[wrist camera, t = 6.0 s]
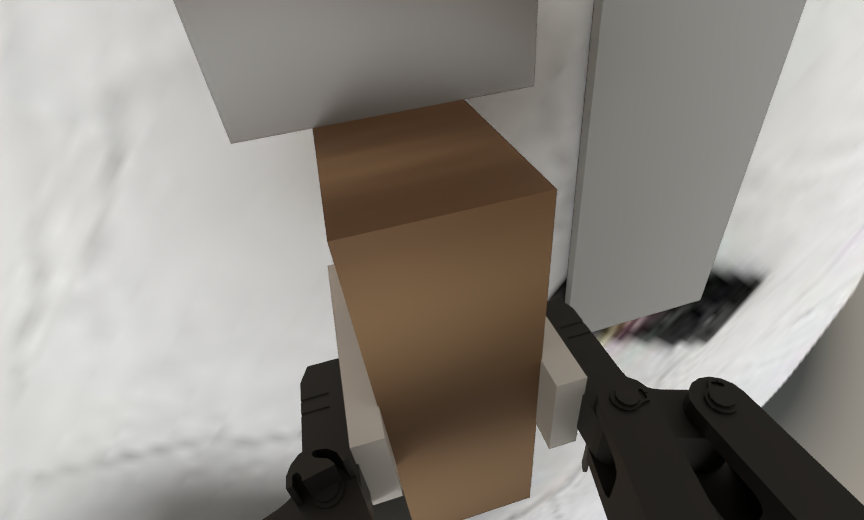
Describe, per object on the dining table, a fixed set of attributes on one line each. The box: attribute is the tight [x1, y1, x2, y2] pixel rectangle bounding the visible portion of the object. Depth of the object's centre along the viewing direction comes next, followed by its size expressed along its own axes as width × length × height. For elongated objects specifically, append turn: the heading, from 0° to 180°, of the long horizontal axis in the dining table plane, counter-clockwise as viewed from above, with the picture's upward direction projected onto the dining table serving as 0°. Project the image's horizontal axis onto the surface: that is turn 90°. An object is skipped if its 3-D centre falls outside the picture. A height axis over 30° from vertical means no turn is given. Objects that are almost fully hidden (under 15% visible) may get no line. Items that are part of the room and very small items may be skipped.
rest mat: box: [565, 0, 806, 332], centre depth 22 cm, size 24×10×1 cm, turn 7°
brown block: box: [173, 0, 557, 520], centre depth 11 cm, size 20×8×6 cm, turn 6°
